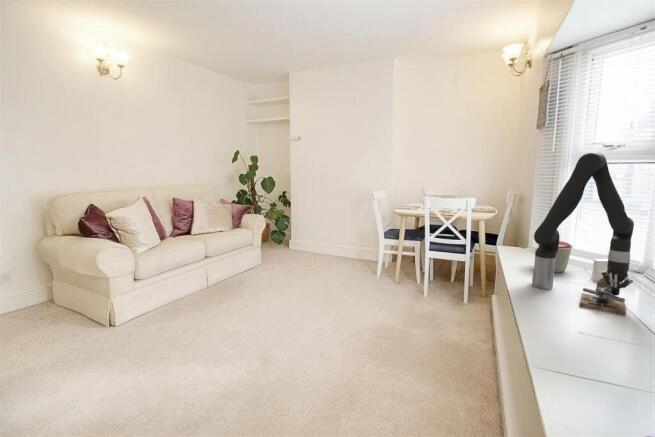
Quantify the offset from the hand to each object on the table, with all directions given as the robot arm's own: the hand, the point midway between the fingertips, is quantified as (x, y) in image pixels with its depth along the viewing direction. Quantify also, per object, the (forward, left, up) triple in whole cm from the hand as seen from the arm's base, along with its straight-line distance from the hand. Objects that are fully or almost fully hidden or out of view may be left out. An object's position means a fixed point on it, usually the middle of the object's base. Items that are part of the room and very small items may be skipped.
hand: (614, 294), depth 151 cm
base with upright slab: (-5, +38, -5) cm, 39 cm away
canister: (-28, +43, -5) cm, 52 cm away
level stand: (-4, -4, -5) cm, 8 cm away
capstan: (-4, -4, -3) cm, 7 cm away
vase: (-3, +16, -5) cm, 17 cm away
